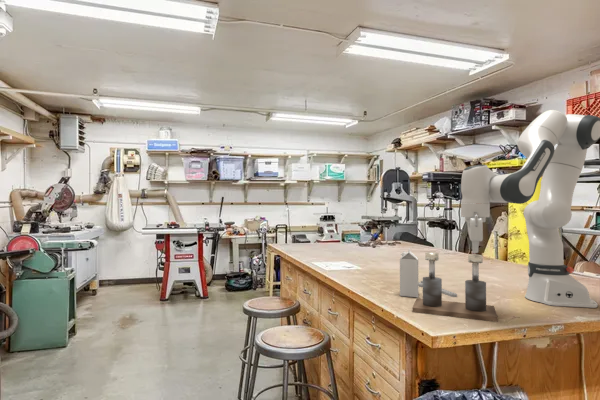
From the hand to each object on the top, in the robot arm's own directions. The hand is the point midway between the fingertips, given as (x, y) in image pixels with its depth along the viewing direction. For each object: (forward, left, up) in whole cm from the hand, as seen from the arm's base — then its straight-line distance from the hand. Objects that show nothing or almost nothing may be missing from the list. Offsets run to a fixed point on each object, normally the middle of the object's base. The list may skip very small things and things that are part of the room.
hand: (475, 252), depth 123 cm
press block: (+7, 0, -21) cm, 22 cm away
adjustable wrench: (+15, -31, -21) cm, 40 cm away
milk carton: (+24, -17, -21) cm, 36 cm away
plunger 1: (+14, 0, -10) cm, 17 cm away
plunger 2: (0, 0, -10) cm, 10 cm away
